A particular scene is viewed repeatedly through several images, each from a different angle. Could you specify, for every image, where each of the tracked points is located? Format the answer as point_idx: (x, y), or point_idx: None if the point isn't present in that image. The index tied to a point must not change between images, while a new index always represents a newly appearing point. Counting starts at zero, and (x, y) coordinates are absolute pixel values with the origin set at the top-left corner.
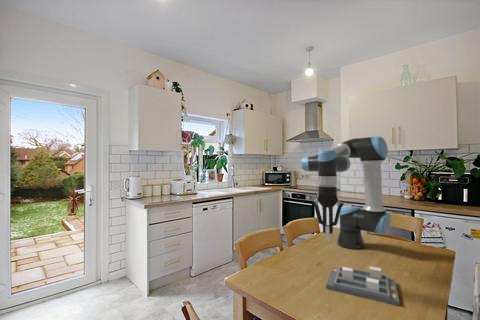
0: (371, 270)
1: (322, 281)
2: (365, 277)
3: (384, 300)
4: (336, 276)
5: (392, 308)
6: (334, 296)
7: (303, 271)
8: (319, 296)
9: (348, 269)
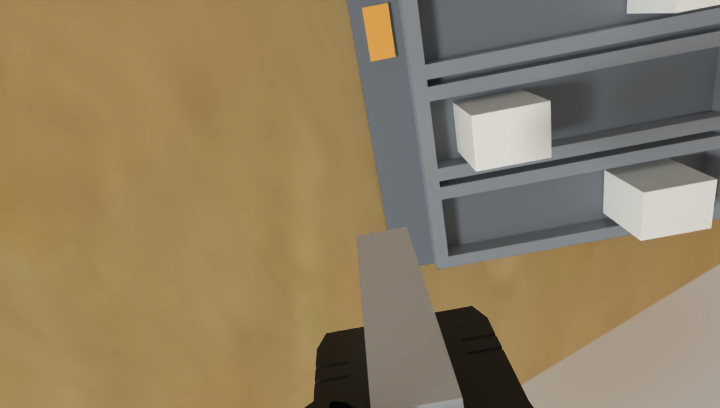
0: (682, 10)
1: (342, 190)
2: (607, 61)
3: None
4: (430, 179)
5: None
6: (448, 295)
7: (178, 136)
8: None
9: (519, 138)
